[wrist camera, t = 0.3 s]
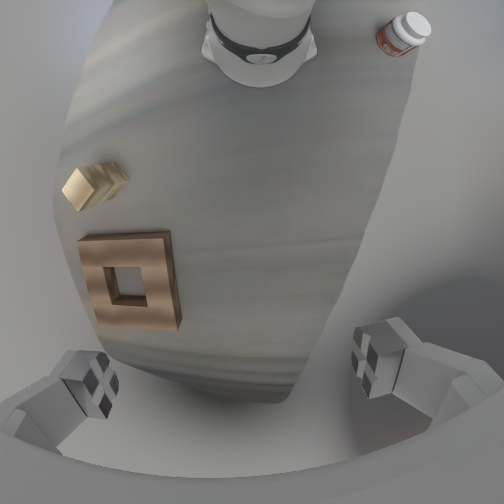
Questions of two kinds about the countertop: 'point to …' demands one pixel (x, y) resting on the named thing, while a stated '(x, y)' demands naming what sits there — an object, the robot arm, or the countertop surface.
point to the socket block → (153, 275)
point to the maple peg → (94, 185)
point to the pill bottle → (403, 33)
